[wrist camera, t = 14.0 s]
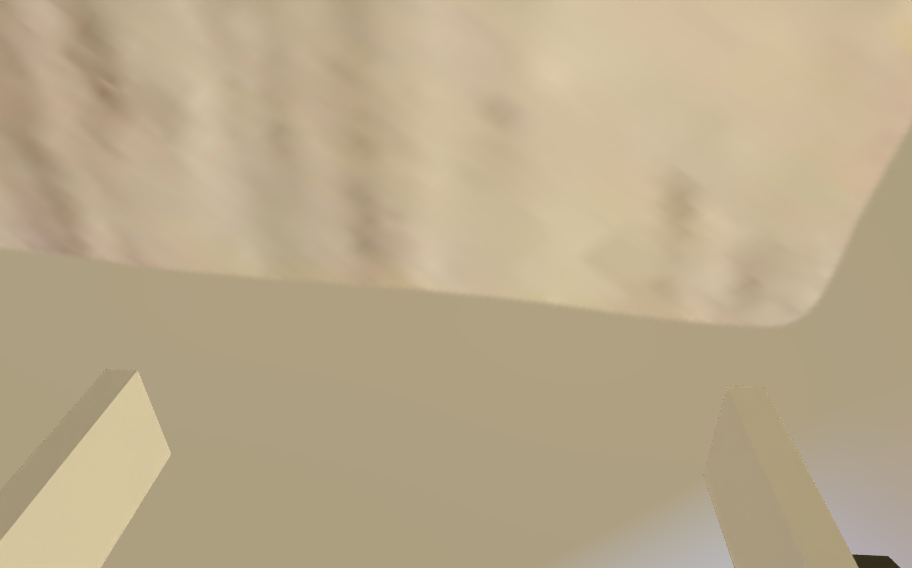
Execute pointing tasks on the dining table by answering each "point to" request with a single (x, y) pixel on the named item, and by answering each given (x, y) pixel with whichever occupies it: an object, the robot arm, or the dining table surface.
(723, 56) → the dining table surface
